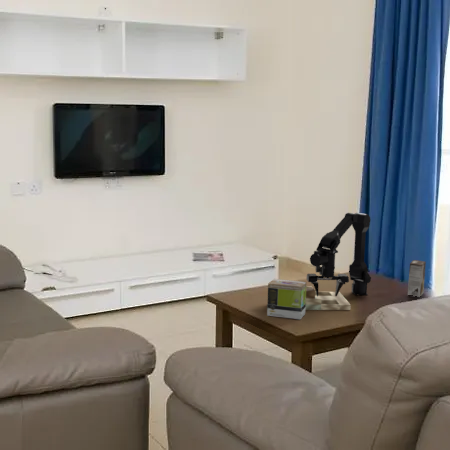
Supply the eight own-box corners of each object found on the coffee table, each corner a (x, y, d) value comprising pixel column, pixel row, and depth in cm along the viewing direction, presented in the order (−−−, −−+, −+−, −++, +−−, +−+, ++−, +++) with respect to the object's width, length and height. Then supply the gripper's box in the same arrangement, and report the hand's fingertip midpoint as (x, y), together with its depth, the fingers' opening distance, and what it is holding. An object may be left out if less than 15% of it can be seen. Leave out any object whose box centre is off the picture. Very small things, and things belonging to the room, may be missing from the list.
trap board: (339, 296, 351) (339, 286, 350) (350, 310, 330) (351, 299, 329) (295, 296, 349) (296, 286, 349) (304, 309, 328) (304, 298, 327)
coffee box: (410, 291, 365) (413, 259, 362) (423, 293, 363) (426, 261, 360) (406, 295, 357) (409, 263, 354) (420, 297, 354) (422, 264, 352)
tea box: (305, 314, 322) (307, 281, 319) (300, 320, 312) (302, 286, 310) (272, 309, 326) (273, 277, 324) (266, 316, 317) (267, 282, 314)
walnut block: (312, 296, 341) (312, 287, 341) (314, 299, 336) (315, 291, 335) (300, 296, 341) (301, 287, 340) (303, 299, 336) (303, 290, 335)
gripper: (344, 259, 345) (342, 291, 348) (305, 259, 343) (303, 291, 346) (350, 264, 334) (348, 298, 337) (309, 264, 332) (308, 297, 335)
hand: (326, 296), depth 339 cm, fingers open, 8 cm apart
